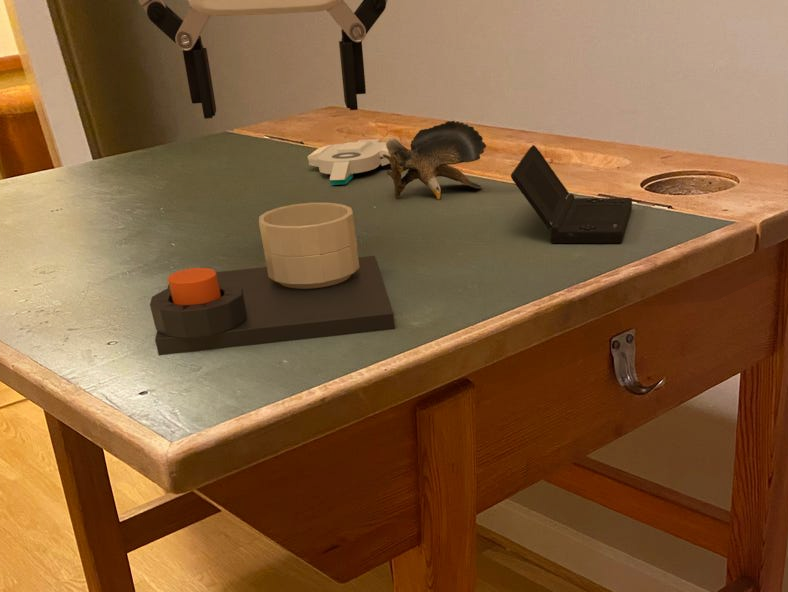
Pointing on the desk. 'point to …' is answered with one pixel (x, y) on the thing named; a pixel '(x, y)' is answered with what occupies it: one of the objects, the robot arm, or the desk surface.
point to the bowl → (309, 244)
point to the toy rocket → (349, 159)
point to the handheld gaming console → (569, 205)
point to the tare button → (194, 286)
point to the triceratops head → (435, 156)
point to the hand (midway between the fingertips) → (281, 111)
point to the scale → (272, 311)
